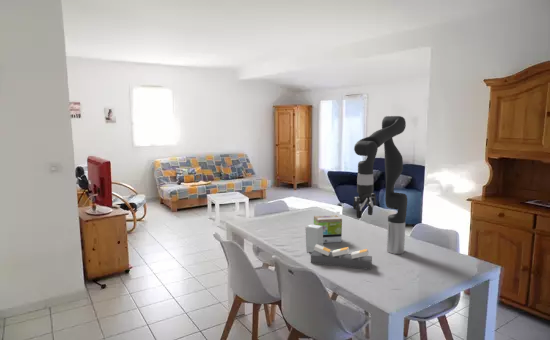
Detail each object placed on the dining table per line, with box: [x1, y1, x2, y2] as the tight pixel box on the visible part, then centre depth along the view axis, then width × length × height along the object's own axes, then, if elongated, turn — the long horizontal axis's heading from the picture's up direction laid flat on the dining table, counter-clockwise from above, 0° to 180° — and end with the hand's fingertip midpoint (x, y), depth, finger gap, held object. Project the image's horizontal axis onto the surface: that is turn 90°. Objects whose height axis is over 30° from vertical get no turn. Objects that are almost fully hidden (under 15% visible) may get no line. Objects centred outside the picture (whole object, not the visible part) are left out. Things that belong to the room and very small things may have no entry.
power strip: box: [310, 250, 373, 270], centre depth 194 cm, size 8×30×5 cm, turn 71°
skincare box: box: [304, 224, 324, 254], centre depth 211 cm, size 8×6×15 cm
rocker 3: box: [350, 248, 369, 259], centre depth 188 cm, size 4×8×2 cm, turn 71°
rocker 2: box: [331, 246, 350, 256], centre depth 191 cm, size 4×8×2 cm, turn 71°
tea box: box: [313, 214, 343, 244], centre depth 230 cm, size 15×10×15 cm
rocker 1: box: [314, 244, 332, 256], centre depth 194 cm, size 4×8×2 cm, turn 71°
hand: (364, 216), depth 181 cm, fingers open, 8 cm apart
